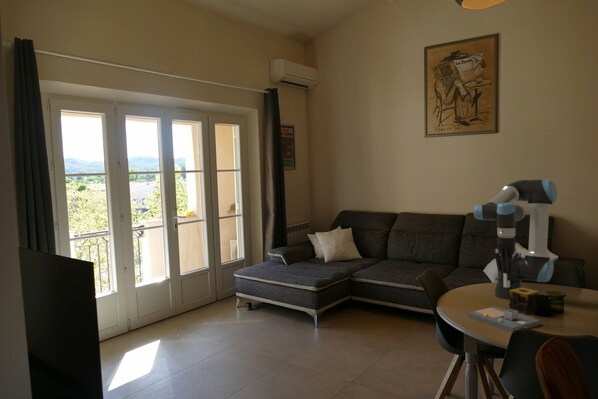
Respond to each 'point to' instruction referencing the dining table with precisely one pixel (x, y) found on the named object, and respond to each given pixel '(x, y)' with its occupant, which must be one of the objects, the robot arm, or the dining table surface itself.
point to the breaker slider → (510, 314)
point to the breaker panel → (503, 319)
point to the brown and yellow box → (522, 300)
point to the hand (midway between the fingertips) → (506, 286)
